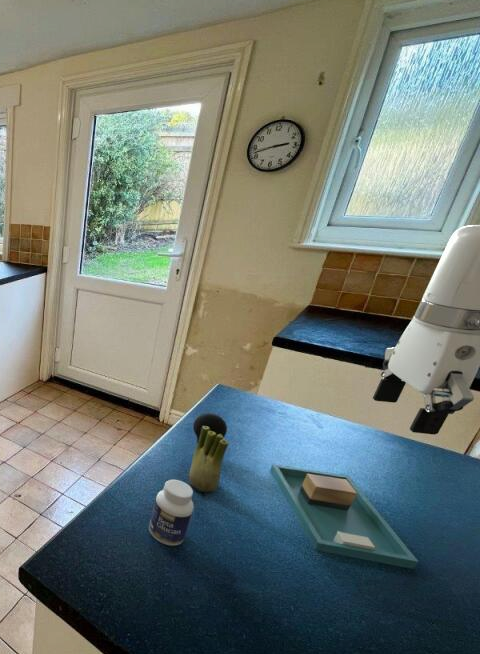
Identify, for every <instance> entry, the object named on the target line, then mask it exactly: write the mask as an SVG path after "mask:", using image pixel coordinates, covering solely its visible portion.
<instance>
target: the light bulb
mask: <svg viewBox="0 0 480 654" xmlns="http://www.w3.org/2000/svg"><path fill="white" fill-rule="evenodd" d="M202 426H207V427H209V428H210V431H213V432H215V433H216V437H217V435H218V434H221V435H222V436H223V438H225V436H226V434H227V432H228V426H227V423H226V421H225V420H224V419H223V417H222V416H220V415H218V414H216V413H212V412H206V413H202V414H200V415H198V416H197V417H196V418H195V420H194V421H193V425H192V429H193V432H194V434H195V436H196V444H197V443H198V441H199V437H200V433H201V429H202ZM216 437H215V439H216Z"/></svg>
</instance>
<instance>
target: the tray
mask: <svg viewBox="0 0 480 654" xmlns="http://www.w3.org/2000/svg"><path fill="white" fill-rule="evenodd" d="M269 471H270V473H271V475H272V478H273V479H274V480H275V482H276V484H277V486H278V488H279V489H280V491H281V493H282V494H283V496H284V498H285V500H286V501H287V503H288V506H289V507H290V509H291V511H292V512H293V514H294V516H295V517H296V520H297V521H298V523H299V524H300V527H301V529H302V530H303V531H304V533H305V535H306V538H307V539H308V540H309V542H310V544H311V546H312V548H313V549H314V550H315V551H316V552H317V551H318V552H323V553H328V554H334V555H339V556H344V557H350V558H355V559H360V560H364V561H371V562H376V563H380V564H385V565H390V566H397V567H401V568H405V569H406V568H407V569H412V570H414V569H415V568H416V567H417V566H418V564H419V562H420V561H419V560H418V559H417V557H416V556H415V555H414V554H413V552H411V549H409V548H408V547H407V545H406V544H405V543H404V542H403V540H402V539H401V538H400V537H399V535H398V534H397V533H396V532H395V530H394V529H393V528H392V527H391V525H390V524H389V523H388V522H387V521H386V519H385V518H384V516H382V515H381V513H380V512H379V511H378V510H377V508H376V507H375V506H374V504H373V503H372V502H371V501H370V500H369V498H368V497H367V496H366V495H365V494H364V492H363V491H362V490H361V489H360V487H359V486H358V485H357V484H356V482H355V481H354V480H353V479H352V477H351V476H350V475H348V474H347V475H346V474H339V473H333V472H325V471H320V470H313V469H307V468H300V467H294V466H287V465H281V464H273V463H272V464H271V467H270V469H269ZM307 474H313V475H320V476H326V477H333V478H339V479H346V480H347V481H348V482H349V484H350V485H351V486H352V487H353V489H354V490H355V491H356V492H357V495H356V497H355V498H354V500H353V502H352V504H351V505H350V508H349V510H348V511H347V510H341V509H335V508H329V507H323V506H317V505H311V504H308V503H307V501H306V500H305V498H304V497H303V495H302V493H301V492H300V489H301V486H302V484H303V482H304V480H305V477H306V475H307ZM337 532H342V533H348V534H353V535H358V536H364V537H368V538H369V539H370V541H371V542H372V544H373V545H374V546H375V548H374V550H372V549H367V548H362V547H356V546H351V545H345V544H340V543H335V542H334V541H333V539H334V538H335V536H336V534H337Z"/></svg>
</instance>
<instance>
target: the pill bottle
mask: <svg viewBox="0 0 480 654" xmlns="http://www.w3.org/2000/svg"><path fill="white" fill-rule="evenodd" d="M193 495H194V491H193V488H192V486H191V485H190V484H188V483H186V482H184V481H182V480H179V479H169V480H167V481H165V483H164V486H163V489H162V490H160V491H158V493H157V494H156V497H155V501H154V505H153V508H152V512H151V516H150V520H149V524H148V530H149V533H150V535H151V536H152V537H153V538H154V539H155V540H156V541H157V542H159V543H161V544H163V545H167V546H173V547H174V546H179V545H181V544H182V543H184V540H185V538H186V534H187V531H188V528H189V525H190V521H191V519H192V516H193V513H194V509H195V506H194V502H193V500H192V499H193Z"/></svg>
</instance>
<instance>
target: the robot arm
mask: <svg viewBox="0 0 480 654" xmlns="http://www.w3.org/2000/svg"><path fill="white" fill-rule="evenodd" d="M382 369H383V371H381V372H380V378H381V379H380V380H379V383H378V385H377V386H376V387H377V388H376V389H375V391H374V394H373V396H372V399H373V400H374V401H375V402H383V403H384V402H385V403H392V404H393V403H394V404H395V403H397V402H398V401H399V398H400V397H401V394H402V392H403V390H404V388H405V386H406V384H407V385H408V386H410V387H412V388H413V389H415V390H416V391H417V392H418V393H420V394H423V400H424V401H423V402H424V408H423V407H420V408H419V410H418V411H417V413H416V415H415V417H414V419H413V421H412V423H411V425H410V427H409V431H411V432H412V433H415V434H426V435H434V436H435V435H438V434H439V432H440V430H441V428H442V427H443V426H444V423H445V422H446V421H447V418H448V416H449V415H453V414H455V413H456V412H458V411H461V410H463V409H464V407H466V406H467V405H468V404H470V403H472V402H473V401H474V399H475V396H474V394H473V392H472V390H471V386H472V384H473V382H474V380H475V377H476V376H477V373H478V371H479V369H480V224H470V225H464V226H461V227H460V228H458V229H456V230H455V231H454V232H453V233H452V234H451V236H450V237H449V239H448V242H447V243H446V246H445V247H444V250H443V252H442V255H441V257H440V259H439V261H438V263H437V265H436V267H435V270H434V271H433V274H432V276H431V278H430V280H429V282H428V284H427V287H426V289H425V291H424V293H423V295H422V298H421V300H420V301H419V303H418V306H417V309H416V310H415V313H414V314H413V316H412V319H411V321H410V322H409V324H408V325H407V326H406V328H405V330H404V331H403V333H402V335H400V337H399V339H398V342H397V344H396V345H395V347H393V346H392V347H386V349H385V352H384V360H383V362H382ZM436 389H439V390H436ZM436 397H440V398H442V401H436Z"/></svg>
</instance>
